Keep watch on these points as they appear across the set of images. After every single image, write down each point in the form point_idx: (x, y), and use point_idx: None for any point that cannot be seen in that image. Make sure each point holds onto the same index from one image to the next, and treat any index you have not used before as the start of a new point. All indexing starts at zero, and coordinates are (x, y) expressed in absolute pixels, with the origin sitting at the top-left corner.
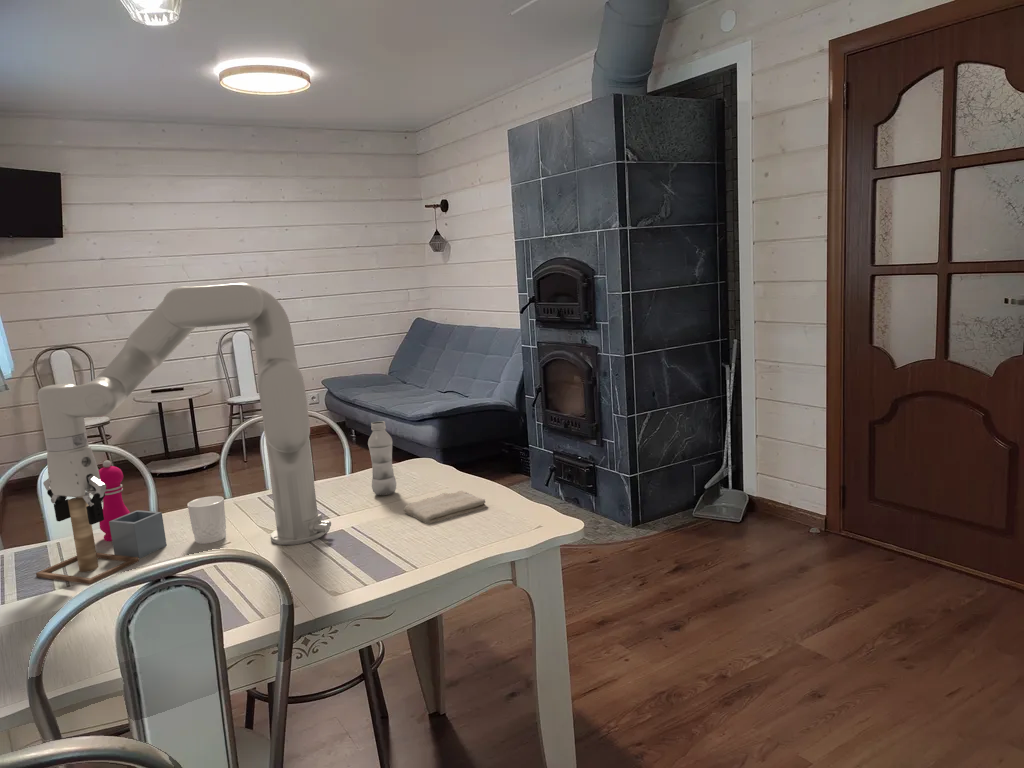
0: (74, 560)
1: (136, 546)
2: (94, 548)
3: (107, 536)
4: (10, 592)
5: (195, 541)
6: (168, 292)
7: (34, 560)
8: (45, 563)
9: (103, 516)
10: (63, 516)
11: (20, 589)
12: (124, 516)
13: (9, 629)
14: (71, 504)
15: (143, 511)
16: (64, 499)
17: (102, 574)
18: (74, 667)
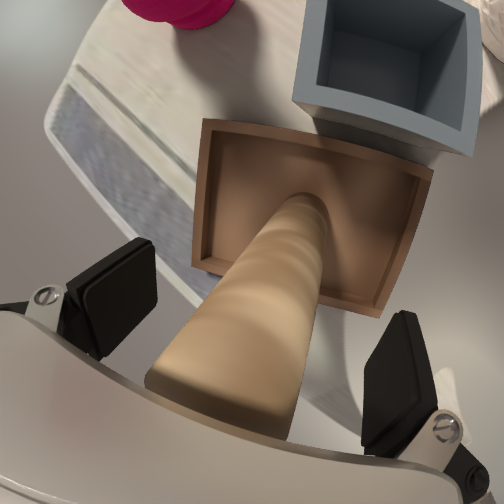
0: (210, 168)
1: (426, 146)
2: (324, 233)
3: (179, 19)
4: (196, 304)
5: (491, 44)
6: None
7: (99, 151)
8: (131, 161)
9: (417, 323)
10: (146, 292)
11: (203, 294)
12: (323, 27)
13: (321, 411)
14: None
15: None
16: (77, 322)
17: (393, 287)
18: None
